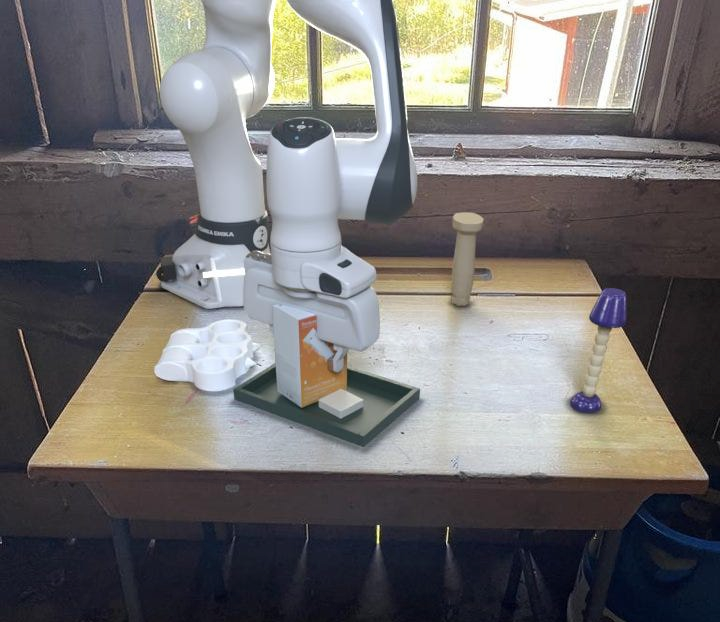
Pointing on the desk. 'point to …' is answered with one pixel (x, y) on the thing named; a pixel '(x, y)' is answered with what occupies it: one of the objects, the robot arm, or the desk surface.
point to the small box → (303, 358)
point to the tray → (359, 427)
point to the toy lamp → (600, 345)
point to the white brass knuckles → (208, 355)
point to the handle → (464, 256)
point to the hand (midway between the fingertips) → (310, 361)
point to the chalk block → (340, 403)
